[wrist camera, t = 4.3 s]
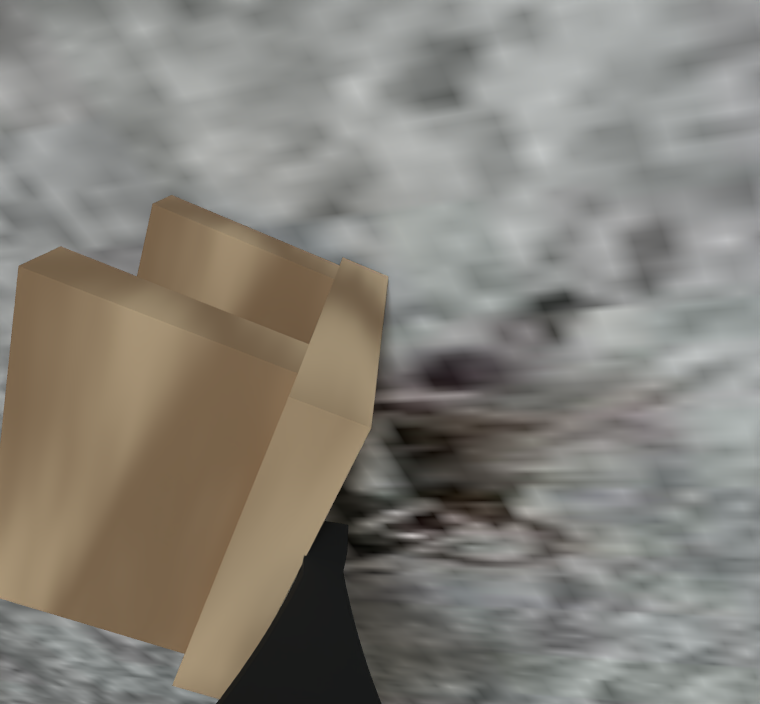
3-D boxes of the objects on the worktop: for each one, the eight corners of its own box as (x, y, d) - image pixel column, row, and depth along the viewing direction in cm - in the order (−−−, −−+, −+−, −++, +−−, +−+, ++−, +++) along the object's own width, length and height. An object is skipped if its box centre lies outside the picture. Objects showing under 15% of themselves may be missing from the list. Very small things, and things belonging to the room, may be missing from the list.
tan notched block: (182, 189, 15) (388, 276, 16) (126, 423, 19) (294, 483, 20) (-16, 281, 8) (371, 427, 9) (-41, 624, 12) (231, 702, 13)
